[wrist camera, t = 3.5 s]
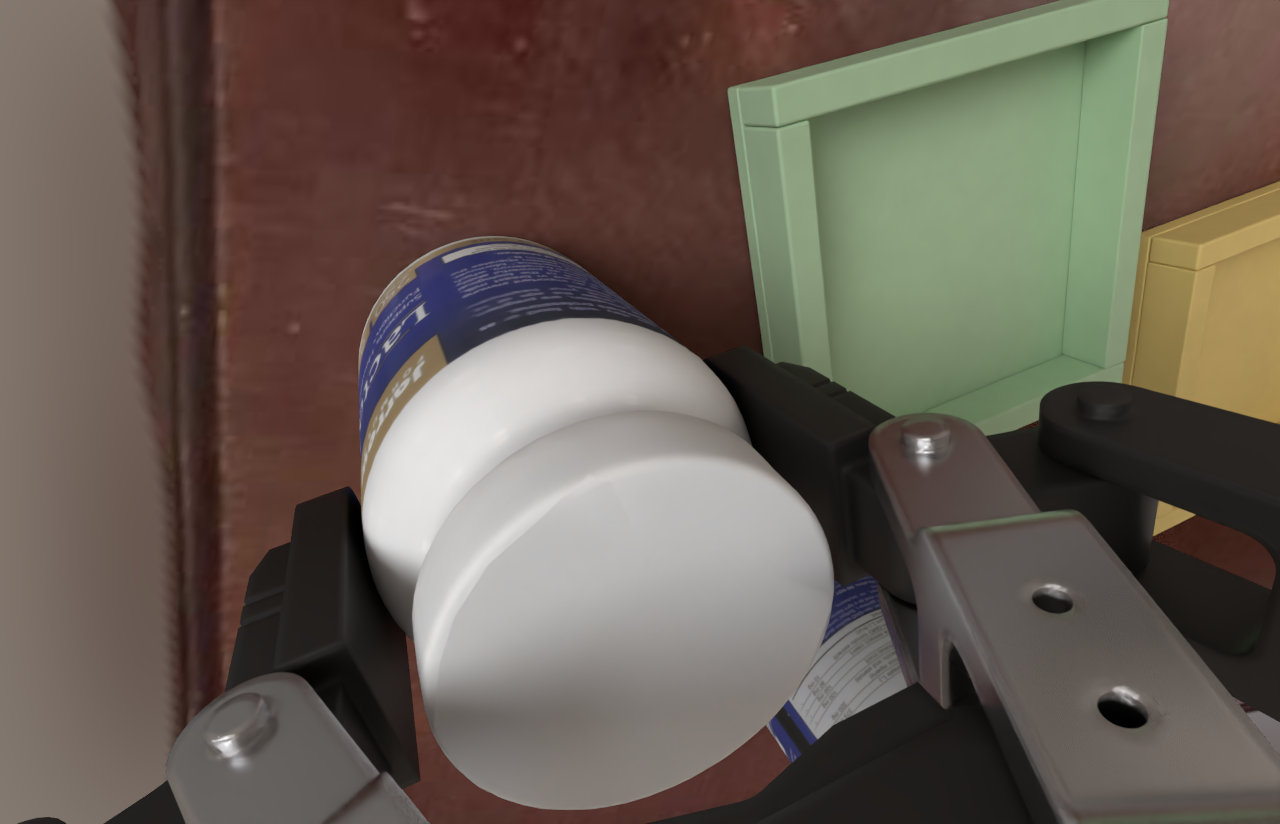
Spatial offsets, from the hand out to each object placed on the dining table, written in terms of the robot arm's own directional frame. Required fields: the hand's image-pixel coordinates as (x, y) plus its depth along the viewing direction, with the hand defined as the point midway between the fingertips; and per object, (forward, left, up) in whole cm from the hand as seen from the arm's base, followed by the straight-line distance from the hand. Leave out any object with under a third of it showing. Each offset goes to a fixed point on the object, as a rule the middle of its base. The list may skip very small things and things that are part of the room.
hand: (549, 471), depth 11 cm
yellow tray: (+8, +25, -6) cm, 27 cm away
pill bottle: (0, 0, -6) cm, 6 cm away
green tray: (+1, +12, -6) cm, 13 cm away
